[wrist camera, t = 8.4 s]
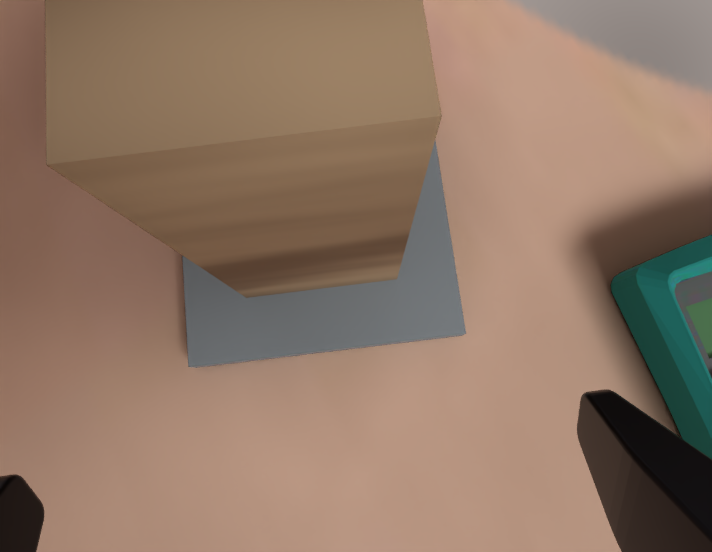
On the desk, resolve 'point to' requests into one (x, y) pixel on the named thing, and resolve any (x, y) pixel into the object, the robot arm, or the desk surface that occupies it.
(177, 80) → the walnut block
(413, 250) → the grey pad
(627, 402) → the robot arm
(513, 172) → the desk surface
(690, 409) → the digital multimeter
